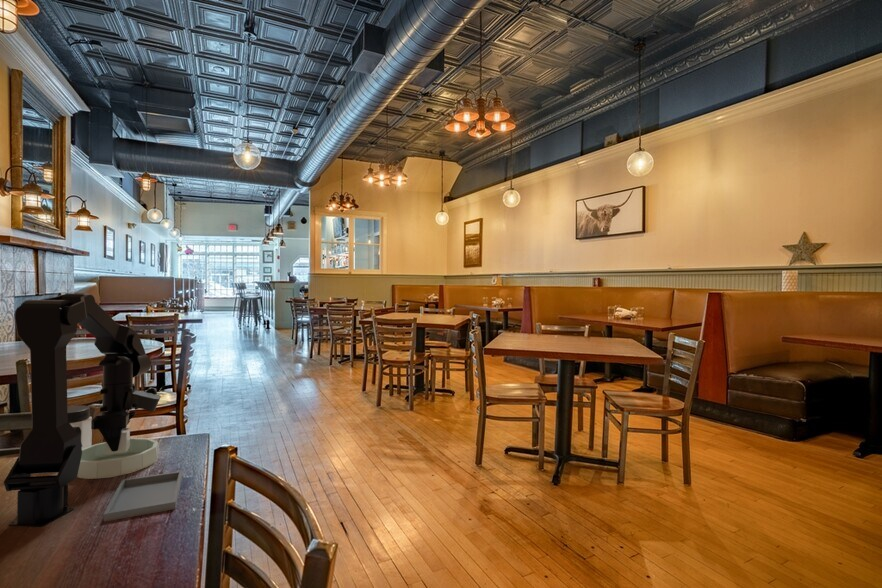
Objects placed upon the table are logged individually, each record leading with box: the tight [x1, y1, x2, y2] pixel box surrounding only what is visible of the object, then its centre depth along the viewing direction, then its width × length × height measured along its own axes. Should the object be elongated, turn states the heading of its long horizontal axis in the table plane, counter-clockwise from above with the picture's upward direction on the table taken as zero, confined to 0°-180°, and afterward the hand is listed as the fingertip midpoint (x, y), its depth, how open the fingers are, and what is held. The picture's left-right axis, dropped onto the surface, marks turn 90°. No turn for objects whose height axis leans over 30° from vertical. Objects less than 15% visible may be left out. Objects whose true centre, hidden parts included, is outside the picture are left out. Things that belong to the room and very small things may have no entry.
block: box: [104, 427, 131, 455], centre depth 104 cm, size 4×4×5 cm
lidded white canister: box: [67, 405, 93, 449], centre depth 108 cm, size 9×8×12 cm
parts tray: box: [103, 470, 184, 523], centre depth 87 cm, size 16×11×2 cm
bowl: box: [77, 437, 159, 480], centre depth 104 cm, size 16×16×4 cm
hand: (116, 448), depth 103 cm, fingers closed on block, 4 cm apart
